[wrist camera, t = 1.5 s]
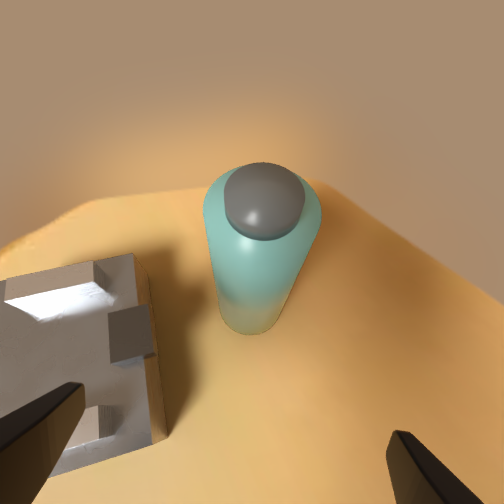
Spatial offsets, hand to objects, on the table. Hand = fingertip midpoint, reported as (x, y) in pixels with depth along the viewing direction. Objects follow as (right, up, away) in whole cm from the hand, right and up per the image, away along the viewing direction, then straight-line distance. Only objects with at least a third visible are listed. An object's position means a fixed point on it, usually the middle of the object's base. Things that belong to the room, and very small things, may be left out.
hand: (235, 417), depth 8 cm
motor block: (-11, -3, +13) cm, 17 cm away
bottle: (0, +1, +15) cm, 15 cm away
